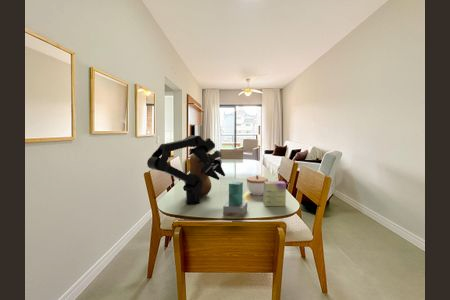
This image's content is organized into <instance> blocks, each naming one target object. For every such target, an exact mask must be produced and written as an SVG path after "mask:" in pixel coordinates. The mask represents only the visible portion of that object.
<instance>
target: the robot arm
mask: <svg viewBox="0 0 450 300" xmlns="http://www.w3.org/2000/svg"><path fill="white" fill-rule="evenodd" d="M187 147H190V149H189V153H188V155H189V156H191V155H192V154H194V155H195V156H196V158H197V159H198V160H199V163H202V164H203V167H202V168H201V169H200V172H201V173H202V174H204V173H205V172H206V173H205V174H204V175H207V176H209V178H213V179H215V180H217V181H220V179H221V178H220V176H219V175H221V176H223V177H225V176H226V173H225V171H224V169H223V167H222V162H223V161H222V160H221V159H220V158H221V157H222V152H221V151H219V150H214V149H215V148H216V143H214V141H213V140H212V139H211V138H210V137H208V138H206V139H203V137H202V136H201V135H192V134H191V135H189V136H187V137H184V138H183V139H181V140H175V141H171V142H166V143H161V144H160V145H159V146H158V147H157V149H156V150H155V151H154V152H153V153H152V154H151V156H150V157H149V158H148V160H147V163H146V164H147V168H149V169H150V170H154V171H158V172H163V173H166V174H167V175H169V176H172V177H174V178H176V179H178V180H179V181H182V182H184V185H183V186H182V189H183V191H184V192H185V203H186V205H187V206H191V205H198V204H200V201H201V200H200V198H201V197H200V194H199V192H201V188H202V184H203V182H202V179H201V177H198V176H197V175H196V174H191V173H190V172H189V173H186V172H184V171H181V170H180V169H178V168H176V167H174V166H172V165H170V163H169V162H168V160H169V156H170V152H172V151H177V150H181V149H184V148H187ZM191 147H192V148H191ZM212 150H214V152H213V153H210V152H211V151H212ZM218 174H219V175H218Z"/></svg>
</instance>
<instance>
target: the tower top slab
mask: <svg viewBox="0 0 450 300" xmlns="http://www.w3.org/2000/svg"><path fill="white" fill-rule="evenodd" d="M222 207H223V209H222V211H224V212H232V213H239V214H243V212H244V211H245V210H246V208H247V209H248V201H243V202H242V204H241V205H240V206H234V205H229V200H227V202H226V203H225V204H224V205H223V206H222Z"/></svg>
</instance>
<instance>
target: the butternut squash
mask: <svg viewBox="0 0 450 300" xmlns="http://www.w3.org/2000/svg"><path fill="white" fill-rule="evenodd" d="M202 167H203V164H202V163H199V160H198V159H197V158H196V156H195V155H194V154H191V155H190V156H189V173H191V174H196V175H197V176H198V177H201V179H202V182H203V184H202V188H201V192H199V194H200V198H202V197H205V196H207V195H208V194H209V193H210V192H211V191H212V181H211V179H210V178H211V177H210V176H207V175H204V174H205V173H206V172H205V173H204V174H202V173H201V172H200V169H201V168H202Z"/></svg>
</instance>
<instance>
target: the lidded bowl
mask: <svg viewBox="0 0 450 300" xmlns="http://www.w3.org/2000/svg"><path fill="white" fill-rule="evenodd" d="M264 181H269V178H268V177H265V176H259V175H256V176H249V177H247V178H246V186H247V190H248V191H249V193H251V195H253V196H262V195H264Z"/></svg>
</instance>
